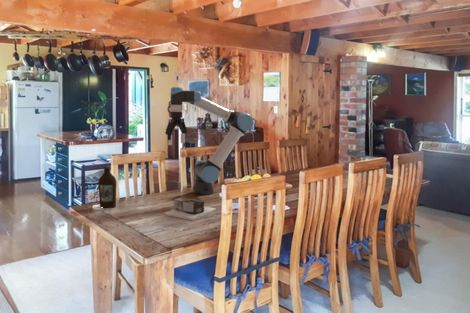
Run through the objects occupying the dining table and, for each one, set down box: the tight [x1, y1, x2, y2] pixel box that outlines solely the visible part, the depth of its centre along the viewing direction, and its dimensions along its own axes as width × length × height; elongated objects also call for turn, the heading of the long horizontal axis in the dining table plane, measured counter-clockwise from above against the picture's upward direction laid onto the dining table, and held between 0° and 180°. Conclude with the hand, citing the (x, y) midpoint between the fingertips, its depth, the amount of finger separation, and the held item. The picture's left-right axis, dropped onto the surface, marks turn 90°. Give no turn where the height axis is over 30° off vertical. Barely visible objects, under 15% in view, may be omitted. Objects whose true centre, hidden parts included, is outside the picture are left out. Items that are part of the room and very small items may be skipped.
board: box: [164, 206, 217, 221], centre depth 251 cm, size 24×20×1 cm
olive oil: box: [97, 165, 117, 209], centre depth 258 cm, size 11×11×25 cm
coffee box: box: [173, 196, 205, 215], centre depth 250 cm, size 9×6×16 cm
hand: (176, 144), depth 278 cm, fingers open, 13 cm apart
